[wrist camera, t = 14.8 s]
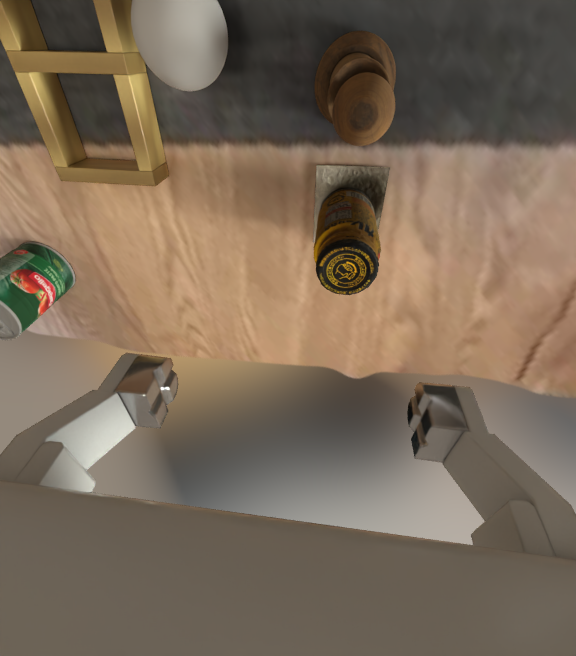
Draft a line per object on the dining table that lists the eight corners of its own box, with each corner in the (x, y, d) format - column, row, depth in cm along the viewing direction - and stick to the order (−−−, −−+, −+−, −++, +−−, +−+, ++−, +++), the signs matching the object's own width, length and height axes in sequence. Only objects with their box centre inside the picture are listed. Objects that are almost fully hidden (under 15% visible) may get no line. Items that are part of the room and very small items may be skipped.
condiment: (313, 241, 39) (304, 301, 30) (316, 164, 33) (307, 209, 24) (375, 244, 38) (386, 306, 29) (389, 166, 33) (408, 213, 24)
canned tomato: (6, 252, 46) (-68, 299, 37) (41, 233, 43) (-30, 278, 35) (52, 296, 50) (-4, 346, 42) (87, 281, 47) (33, 331, 39)
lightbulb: (217, -39, 25) (155, -80, 17) (265, 48, 28) (234, 49, 20) (165, 24, 28) (91, 16, 19) (214, 97, 31) (168, 117, 22)
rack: (-28, -112, 24) (-73, -131, 21) (107, -115, 23) (76, -136, 20) (80, 171, 37) (60, 181, 34) (169, 175, 36) (155, 186, 33)
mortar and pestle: (340, 140, 32) (339, 213, 18) (301, 73, 29) (264, 100, 15) (406, 89, 28) (463, 131, 15) (369, 8, 25) (400, -32, 12)
